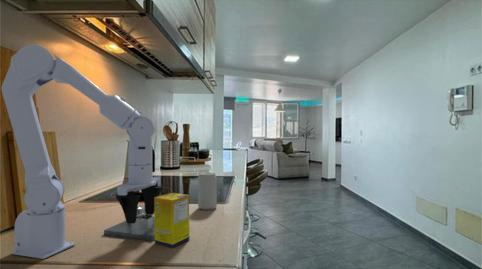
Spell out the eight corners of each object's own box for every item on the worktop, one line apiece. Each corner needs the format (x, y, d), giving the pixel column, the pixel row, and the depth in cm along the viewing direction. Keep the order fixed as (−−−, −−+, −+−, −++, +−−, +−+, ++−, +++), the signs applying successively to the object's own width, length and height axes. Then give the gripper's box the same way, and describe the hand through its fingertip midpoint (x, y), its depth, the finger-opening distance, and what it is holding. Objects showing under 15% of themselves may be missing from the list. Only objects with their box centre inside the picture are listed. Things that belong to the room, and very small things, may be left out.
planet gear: (126, 233, 71) (126, 219, 71) (139, 227, 76) (139, 213, 76) (144, 235, 70) (144, 220, 70) (156, 228, 75) (156, 215, 75)
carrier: (103, 234, 74) (103, 214, 74) (138, 219, 87) (138, 201, 87) (153, 240, 70) (153, 219, 70) (181, 223, 83) (181, 205, 83)
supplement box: (171, 235, 73) (171, 192, 73) (190, 239, 70) (189, 194, 70) (153, 243, 68) (153, 196, 68) (172, 248, 65) (172, 199, 65)
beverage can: (218, 205, 102) (218, 172, 102) (214, 210, 96) (214, 174, 96) (200, 205, 103) (200, 171, 103) (196, 210, 97) (195, 174, 97)
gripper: (135, 168, 65) (136, 228, 65) (169, 161, 79) (170, 211, 79) (109, 167, 67) (110, 226, 67) (147, 161, 81) (147, 209, 81)
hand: (140, 218), depth 73 cm, fingers open, 7 cm apart
